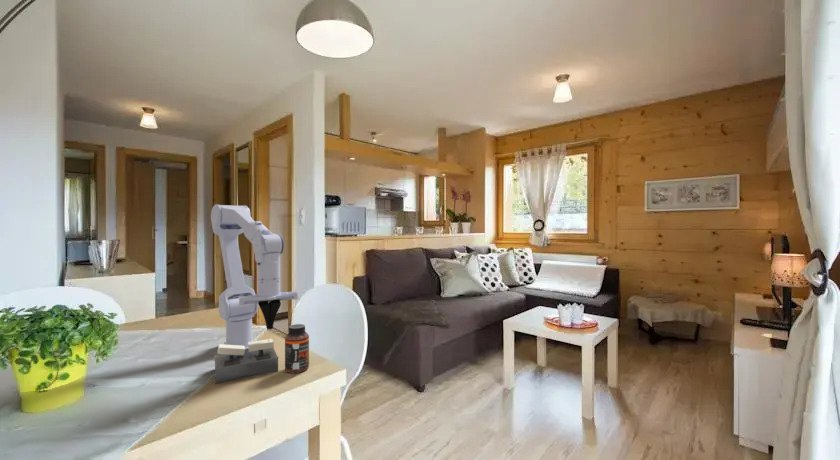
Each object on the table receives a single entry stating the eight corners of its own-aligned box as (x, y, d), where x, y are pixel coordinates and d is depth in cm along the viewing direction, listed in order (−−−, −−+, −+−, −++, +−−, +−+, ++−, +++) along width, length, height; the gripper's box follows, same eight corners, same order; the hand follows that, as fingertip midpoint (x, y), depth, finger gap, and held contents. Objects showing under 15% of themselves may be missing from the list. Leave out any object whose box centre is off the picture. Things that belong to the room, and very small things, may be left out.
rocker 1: (217, 350, 91) (219, 344, 92) (242, 351, 94) (244, 345, 95) (217, 354, 89) (219, 347, 89) (243, 355, 92) (245, 349, 92)
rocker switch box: (215, 368, 93) (214, 352, 92) (272, 358, 100) (272, 343, 99) (215, 384, 84) (214, 366, 84) (278, 371, 91) (278, 354, 91)
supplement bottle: (301, 374, 89) (301, 330, 89) (280, 373, 90) (279, 328, 90) (313, 365, 95) (313, 323, 94) (293, 363, 96) (292, 322, 96)
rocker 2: (248, 348, 95) (248, 342, 95) (272, 344, 98) (272, 338, 98) (248, 351, 92) (248, 345, 92) (273, 347, 95) (273, 341, 95)
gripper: (239, 283, 89) (240, 336, 89) (299, 278, 96) (300, 328, 97) (238, 279, 95) (239, 329, 95) (294, 275, 102) (295, 321, 103)
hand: (269, 328), depth 96 cm, fingers closed
